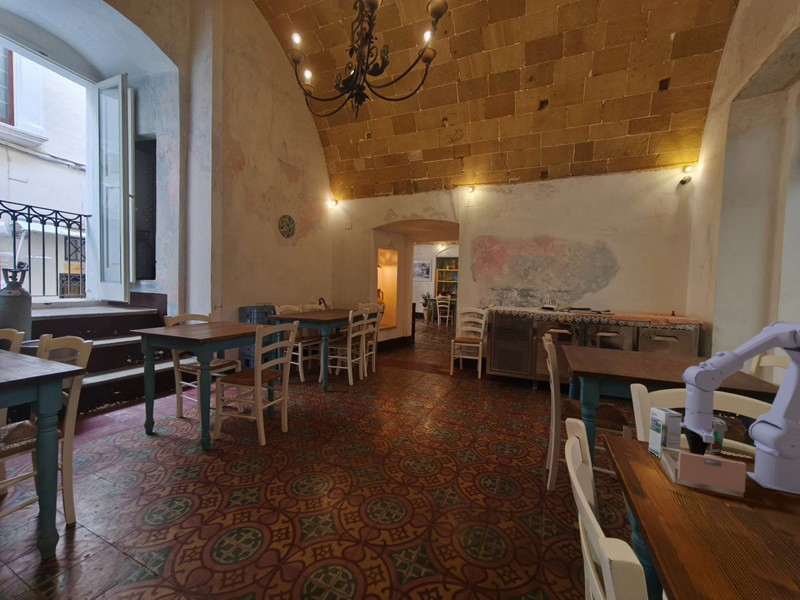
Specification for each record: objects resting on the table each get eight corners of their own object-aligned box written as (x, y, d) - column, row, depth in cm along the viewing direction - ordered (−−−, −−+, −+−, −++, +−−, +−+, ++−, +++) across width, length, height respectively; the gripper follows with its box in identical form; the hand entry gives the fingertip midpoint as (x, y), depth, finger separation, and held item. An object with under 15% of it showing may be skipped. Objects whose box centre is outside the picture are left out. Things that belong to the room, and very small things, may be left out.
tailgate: (742, 489, 85) (743, 462, 84) (746, 494, 83) (747, 466, 83) (677, 477, 90) (678, 451, 90) (680, 481, 88) (681, 454, 88)
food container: (736, 458, 106) (738, 427, 105) (713, 456, 107) (715, 425, 107) (709, 441, 118) (710, 413, 117) (689, 439, 119) (690, 411, 119)
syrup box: (647, 451, 109) (649, 407, 108) (664, 451, 109) (666, 407, 109) (662, 460, 103) (664, 413, 103) (680, 460, 104) (682, 413, 103)
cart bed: (720, 474, 96) (721, 456, 96) (743, 497, 85) (744, 477, 85) (660, 463, 101) (661, 446, 101) (674, 483, 90) (675, 465, 90)
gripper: (672, 400, 103) (670, 444, 103) (691, 416, 89) (688, 466, 90) (701, 404, 100) (699, 449, 100) (725, 421, 86) (723, 473, 87)
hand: (696, 458), depth 95 cm, fingers closed
